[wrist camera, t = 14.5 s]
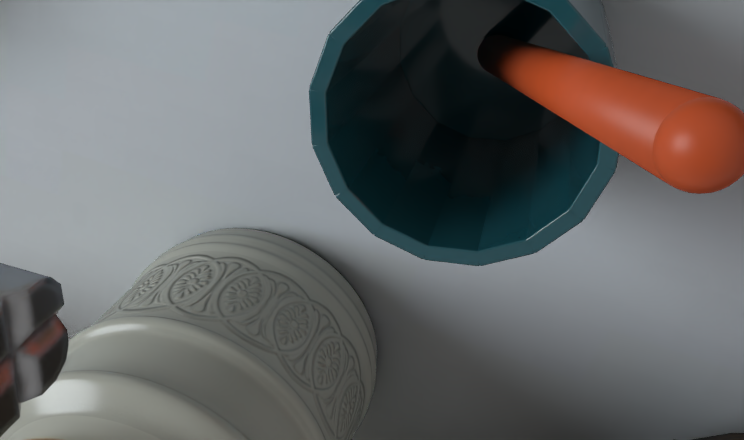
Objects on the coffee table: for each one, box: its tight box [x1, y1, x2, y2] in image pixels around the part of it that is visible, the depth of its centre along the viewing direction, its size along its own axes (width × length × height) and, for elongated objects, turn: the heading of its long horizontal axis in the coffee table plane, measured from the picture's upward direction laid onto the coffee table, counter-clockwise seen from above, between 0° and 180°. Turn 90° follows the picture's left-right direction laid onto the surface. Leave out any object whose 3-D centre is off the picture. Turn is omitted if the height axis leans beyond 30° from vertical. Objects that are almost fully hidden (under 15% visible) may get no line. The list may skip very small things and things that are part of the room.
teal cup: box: [309, 0, 619, 266], centre depth 23 cm, size 8×8×10 cm
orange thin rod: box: [477, 35, 744, 194], centre depth 18 cm, size 1×1×18 cm
